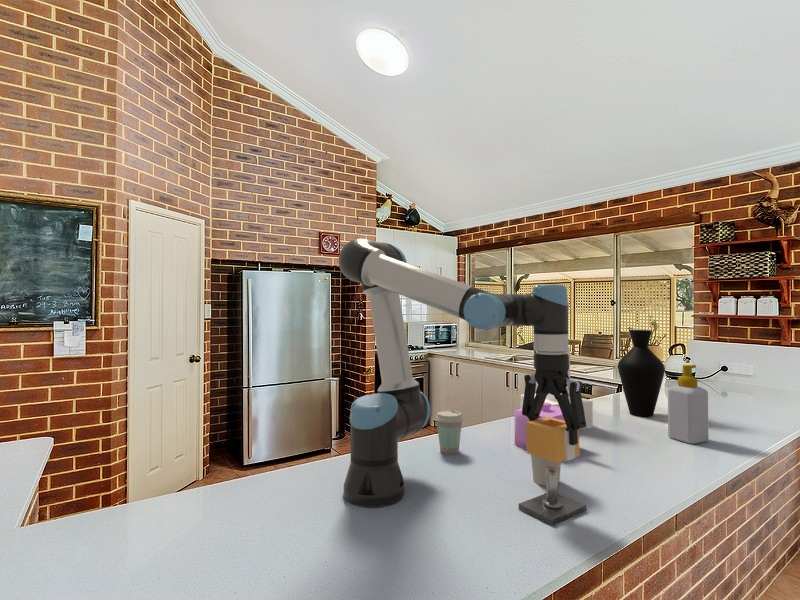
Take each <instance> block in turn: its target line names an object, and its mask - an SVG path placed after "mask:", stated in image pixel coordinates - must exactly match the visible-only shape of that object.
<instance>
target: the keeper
mask: <svg viewBox="0 0 800 600" xmlns="http://www.w3.org/2000/svg"><path fill="white" fill-rule="evenodd" d="M546 484H547V486H546V492H545V493H542V494H540V495H538V496H535V497H533V498H530V499H527V500H525V501H523V502H522V501H521V502H520V503H518V510H519V511H521V512H524V513H526V514H528V515H530V516H532V517H533V518H535V519H538V520H539V521H542V522H543V523H546V524H547V525H550V526H552V527H553V526H555V525H558V524H560V523H561V522H564V521H566V520H569V519H570V518H573V517H575V516H577V515H579V514H581V513H584V512H586V511H587V505H586V504H585V503H582V502H579V501H577V500H574V499H572V498H570V497H568V496H565V495H563V494H561V493H559V489H558V488H559V486H558V485H559V484H558V469H557V468H554V467H547V468H546Z"/></svg>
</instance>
